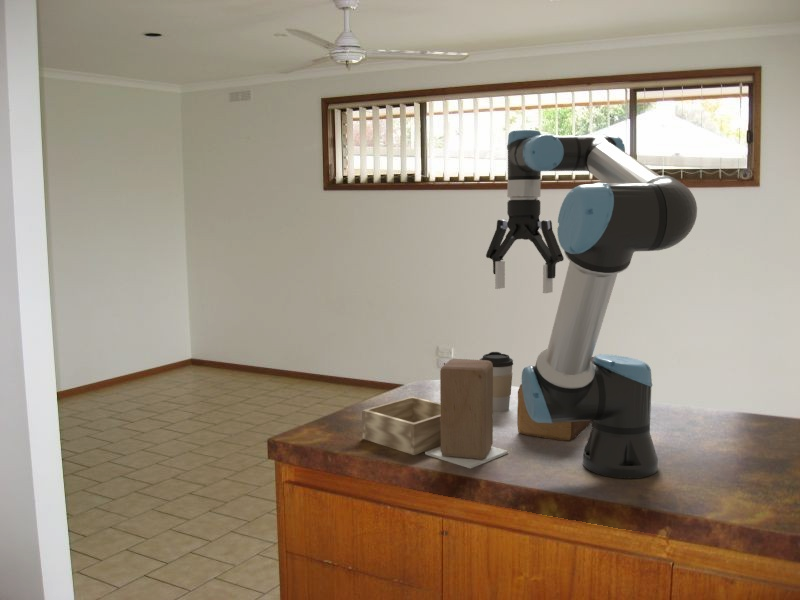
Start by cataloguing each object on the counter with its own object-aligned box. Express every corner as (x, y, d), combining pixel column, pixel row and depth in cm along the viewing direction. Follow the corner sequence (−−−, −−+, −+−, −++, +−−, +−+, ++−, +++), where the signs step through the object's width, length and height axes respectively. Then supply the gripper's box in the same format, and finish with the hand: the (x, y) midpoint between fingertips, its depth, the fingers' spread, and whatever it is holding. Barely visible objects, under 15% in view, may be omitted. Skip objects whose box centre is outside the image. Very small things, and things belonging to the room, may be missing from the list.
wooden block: (485, 461, 162) (485, 369, 159) (439, 457, 165) (439, 367, 162) (493, 446, 171) (493, 359, 169) (450, 442, 174) (449, 357, 172)
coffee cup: (515, 413, 199) (515, 357, 197) (480, 413, 199) (480, 358, 197) (510, 404, 208) (510, 350, 206) (477, 404, 208) (477, 351, 206)
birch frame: (463, 437, 180) (463, 408, 179) (414, 455, 168) (413, 424, 167) (412, 423, 192) (412, 396, 191) (362, 438, 180) (362, 410, 179)
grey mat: (508, 453, 168) (508, 450, 168) (470, 468, 159) (470, 465, 159) (463, 440, 178) (463, 438, 177) (425, 454, 168) (425, 451, 168)
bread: (610, 407, 204) (611, 355, 202) (572, 443, 175) (573, 383, 173) (560, 401, 211) (560, 351, 209) (515, 435, 182) (515, 377, 180)
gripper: (580, 198, 168) (578, 293, 171) (491, 199, 186) (491, 285, 189) (561, 198, 163) (559, 296, 166) (471, 199, 181) (471, 287, 184)
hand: (523, 290), depth 177 cm, fingers open, 13 cm apart
